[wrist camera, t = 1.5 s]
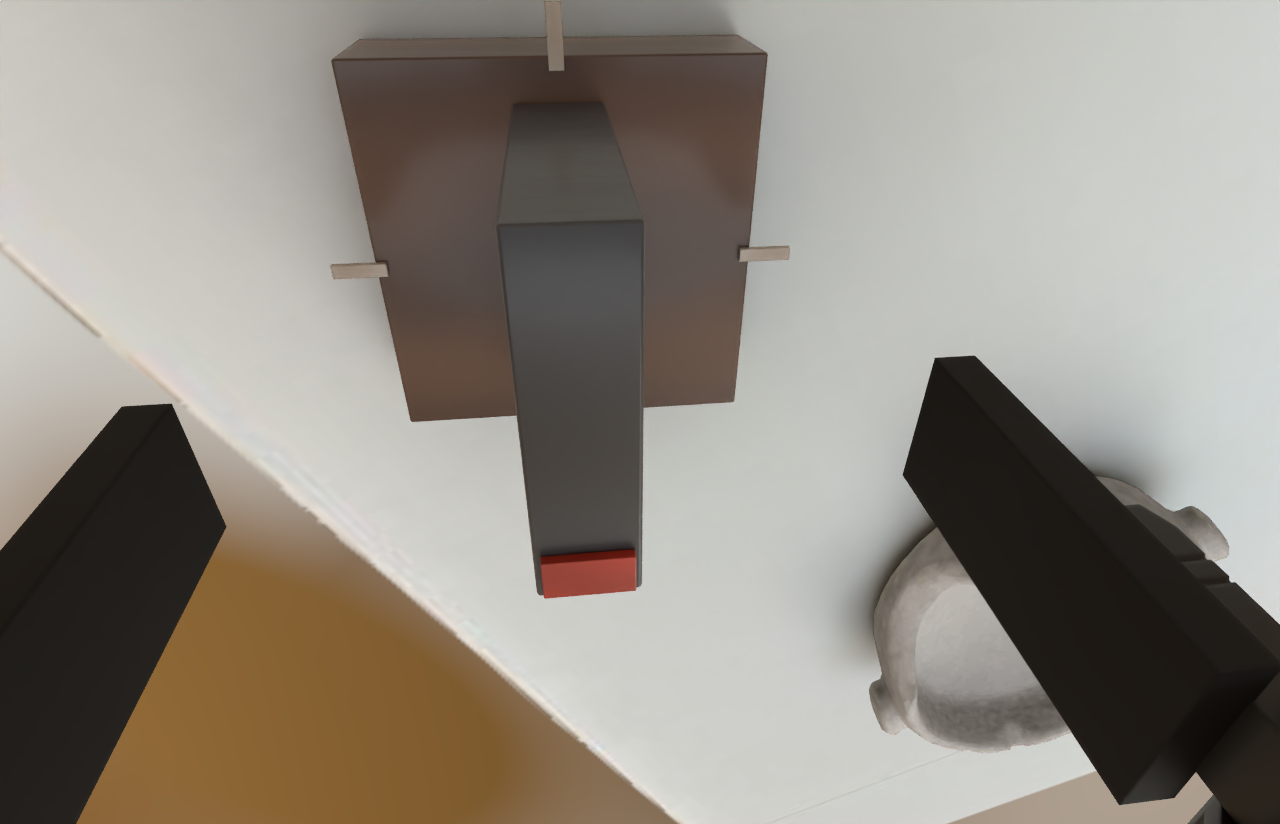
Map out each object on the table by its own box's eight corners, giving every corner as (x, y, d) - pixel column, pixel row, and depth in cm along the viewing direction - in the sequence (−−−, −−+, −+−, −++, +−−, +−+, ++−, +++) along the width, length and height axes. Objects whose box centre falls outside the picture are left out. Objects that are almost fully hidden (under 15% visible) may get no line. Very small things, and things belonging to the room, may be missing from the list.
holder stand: (301, -11, 18) (261, 3, 15) (784, -13, 19) (822, -1, 16) (396, 400, 25) (379, 457, 22) (743, 379, 26) (766, 431, 23)
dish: (838, 678, 37) (874, 772, 33) (890, 473, 29) (946, 564, 25) (1097, 650, 39) (1163, 737, 35) (1215, 447, 31) (1319, 529, 27)
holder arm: (511, 103, 17) (493, 231, 10) (605, 101, 17) (647, 225, 10) (537, 388, 21) (536, 605, 15) (610, 384, 22) (643, 596, 15)
